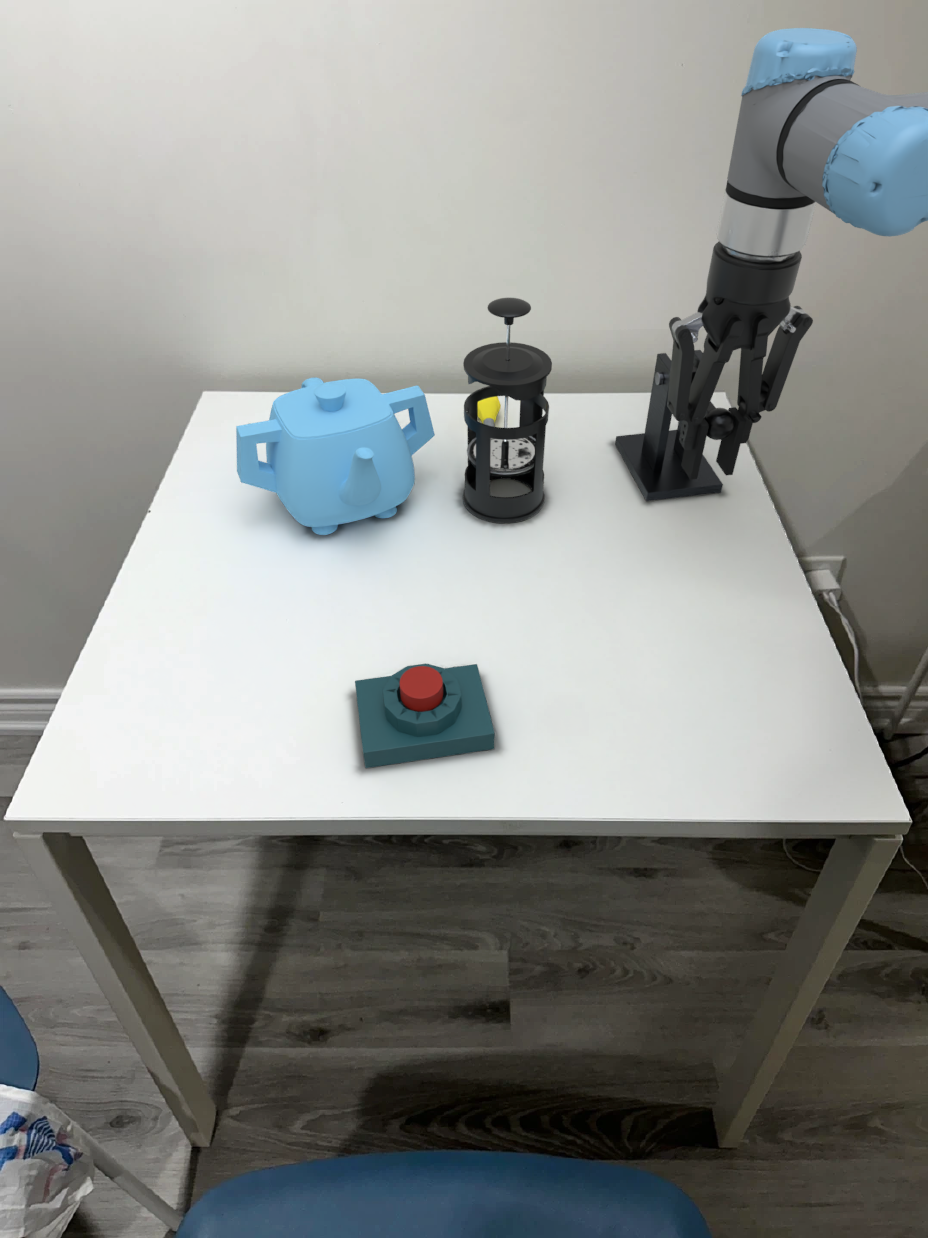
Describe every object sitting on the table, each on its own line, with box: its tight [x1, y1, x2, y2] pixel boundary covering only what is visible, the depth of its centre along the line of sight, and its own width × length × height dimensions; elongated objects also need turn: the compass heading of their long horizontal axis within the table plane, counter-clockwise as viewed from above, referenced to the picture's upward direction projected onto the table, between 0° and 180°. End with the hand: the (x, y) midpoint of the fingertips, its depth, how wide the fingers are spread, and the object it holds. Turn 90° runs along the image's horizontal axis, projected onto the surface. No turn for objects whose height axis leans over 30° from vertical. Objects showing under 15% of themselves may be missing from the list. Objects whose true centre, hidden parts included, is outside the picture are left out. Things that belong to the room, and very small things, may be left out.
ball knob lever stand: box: [614, 349, 724, 502], centre depth 97 cm, size 12×9×14 cm
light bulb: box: [478, 396, 502, 427], centre depth 108 cm, size 3×6×4 cm, turn 4°
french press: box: [462, 297, 553, 524], centre depth 90 cm, size 12×9×23 cm
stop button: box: [400, 666, 443, 712], centre depth 71 cm, size 4×4×2 cm
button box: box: [354, 663, 496, 769], centre depth 73 cm, size 8×11×4 cm
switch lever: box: [691, 364, 735, 441], centre depth 90 cm, size 13×3×3 cm, turn 10°
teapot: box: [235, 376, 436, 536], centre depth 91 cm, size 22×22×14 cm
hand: (706, 469), depth 90 cm, fingers closed on switch lever, 3 cm apart
